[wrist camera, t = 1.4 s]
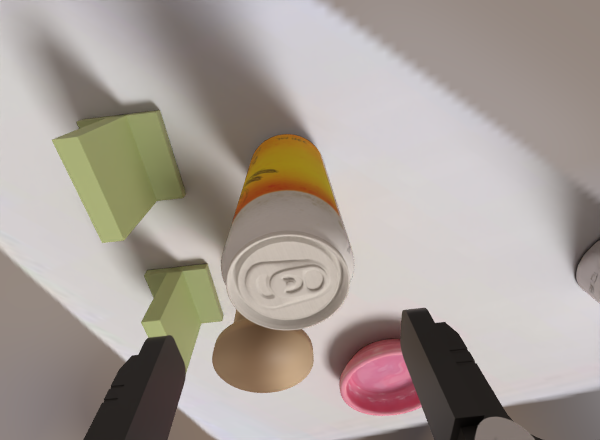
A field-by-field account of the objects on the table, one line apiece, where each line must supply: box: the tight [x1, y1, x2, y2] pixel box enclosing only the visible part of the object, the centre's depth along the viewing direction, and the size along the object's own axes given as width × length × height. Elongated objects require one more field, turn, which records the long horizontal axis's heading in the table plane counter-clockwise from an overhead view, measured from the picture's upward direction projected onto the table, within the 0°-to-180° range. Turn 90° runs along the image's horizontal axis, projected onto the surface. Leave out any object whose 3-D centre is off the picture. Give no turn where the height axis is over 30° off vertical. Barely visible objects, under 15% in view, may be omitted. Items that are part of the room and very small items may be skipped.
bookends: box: [52, 110, 223, 372], centre depth 26 cm, size 6×22×7 cm, turn 6°
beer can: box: [221, 134, 354, 330], centre depth 20 cm, size 6×6×15 cm
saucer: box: [340, 339, 422, 416], centre depth 38 cm, size 12×12×3 cm
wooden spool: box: [212, 309, 314, 393], centre depth 27 cm, size 8×8×11 cm
